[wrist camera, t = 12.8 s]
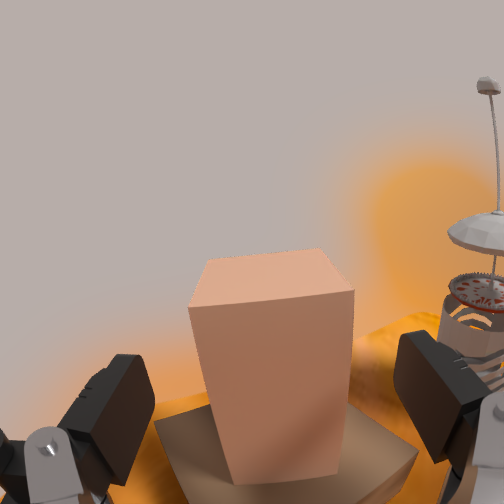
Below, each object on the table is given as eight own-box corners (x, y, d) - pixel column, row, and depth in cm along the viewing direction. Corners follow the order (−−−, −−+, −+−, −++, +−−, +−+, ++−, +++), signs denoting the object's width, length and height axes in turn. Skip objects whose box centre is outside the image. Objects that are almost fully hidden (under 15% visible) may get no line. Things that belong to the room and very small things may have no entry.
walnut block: (301, 414, 22) (300, 367, 21) (398, 493, 13) (419, 450, 12) (173, 465, 18) (153, 421, 16) (242, 586, 8) (227, 569, 7)
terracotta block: (320, 410, 16) (319, 247, 14) (337, 473, 11) (354, 289, 9) (236, 418, 16) (208, 259, 14) (234, 484, 12) (187, 307, 9)
